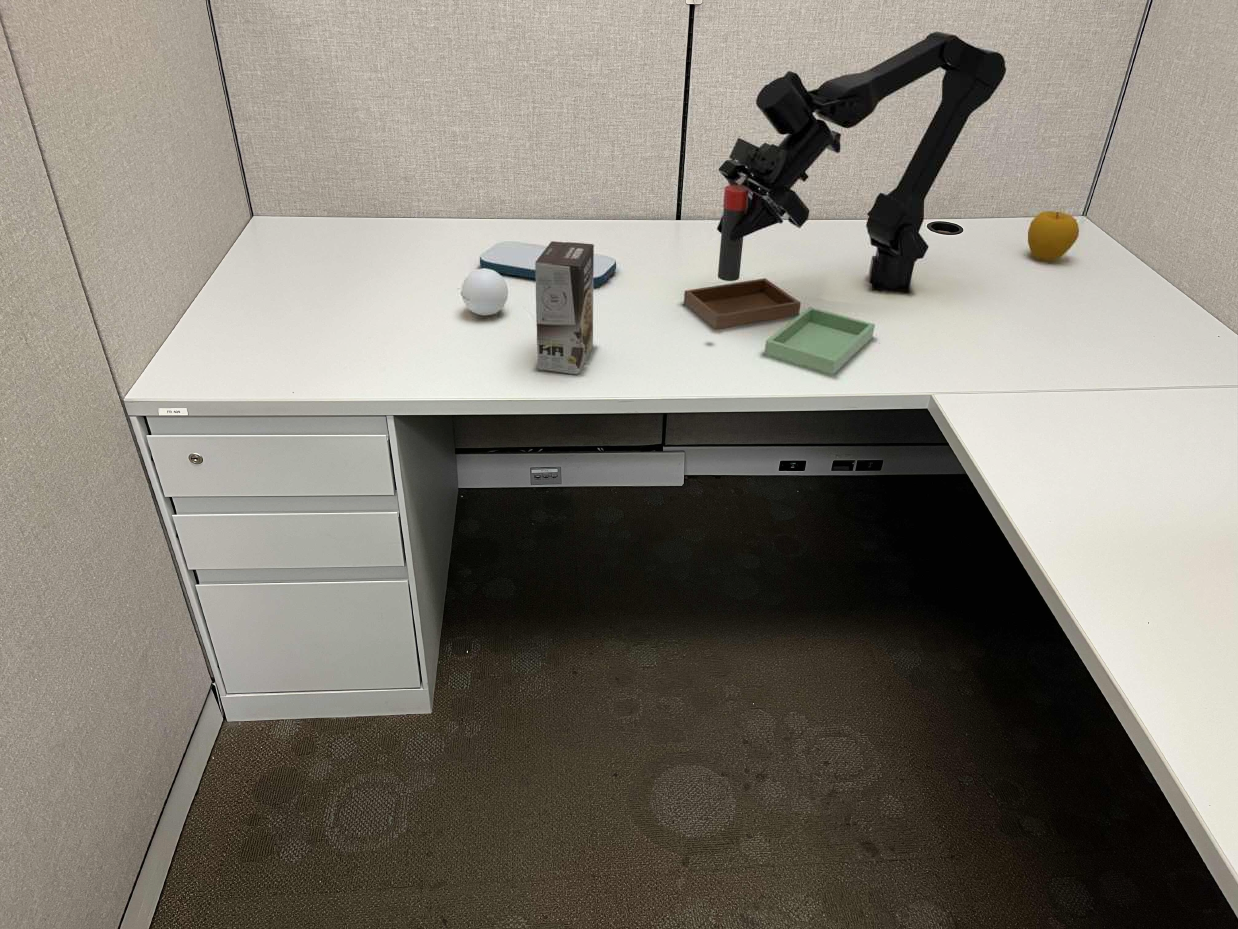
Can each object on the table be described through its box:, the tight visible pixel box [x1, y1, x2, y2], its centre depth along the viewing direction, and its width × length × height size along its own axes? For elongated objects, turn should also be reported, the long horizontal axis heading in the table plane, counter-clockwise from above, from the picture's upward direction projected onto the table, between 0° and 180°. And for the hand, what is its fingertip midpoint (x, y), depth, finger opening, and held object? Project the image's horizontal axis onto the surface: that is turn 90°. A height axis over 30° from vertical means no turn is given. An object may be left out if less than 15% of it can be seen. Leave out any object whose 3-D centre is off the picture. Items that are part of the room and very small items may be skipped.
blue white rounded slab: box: [479, 241, 617, 287], centre depth 156 cm, size 24×12×2 cm, turn 70°
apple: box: [1027, 210, 1080, 263], centre depth 164 cm, size 9×8×9 cm
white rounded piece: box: [458, 267, 509, 317], centre depth 139 cm, size 10×7×7 cm
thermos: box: [717, 184, 749, 282], centre depth 135 cm, size 4×4×14 cm
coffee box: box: [535, 240, 595, 375], centre depth 123 cm, size 9×6×16 cm
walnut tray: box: [683, 277, 802, 331], centre depth 143 cm, size 15×11×2 cm
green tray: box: [763, 306, 876, 376], centre depth 132 cm, size 15×11×2 cm
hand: (724, 235), depth 134 cm, fingers closed on thermos, 3 cm apart
